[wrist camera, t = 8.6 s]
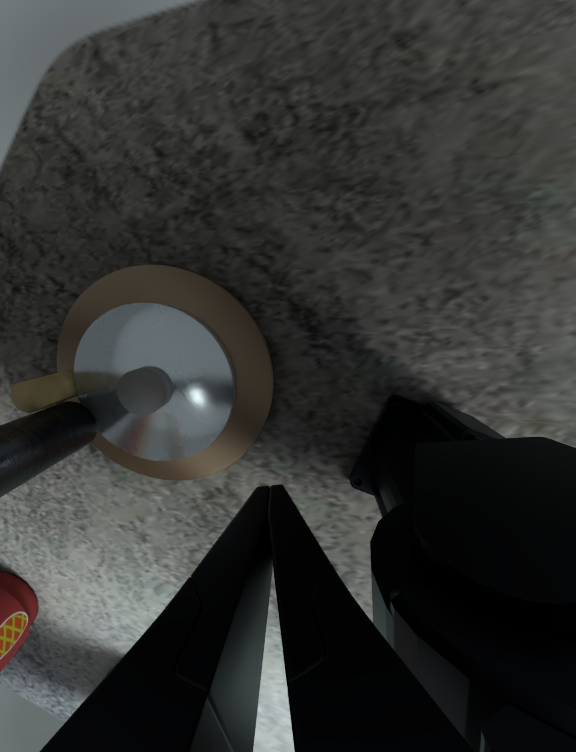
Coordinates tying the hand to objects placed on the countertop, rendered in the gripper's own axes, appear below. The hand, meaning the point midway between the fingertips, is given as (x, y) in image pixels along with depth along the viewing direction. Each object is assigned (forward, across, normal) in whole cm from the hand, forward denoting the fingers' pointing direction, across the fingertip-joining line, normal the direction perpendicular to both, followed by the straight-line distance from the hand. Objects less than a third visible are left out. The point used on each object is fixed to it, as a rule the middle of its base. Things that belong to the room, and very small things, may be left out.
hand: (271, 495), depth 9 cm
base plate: (+10, -6, 0) cm, 12 cm away
